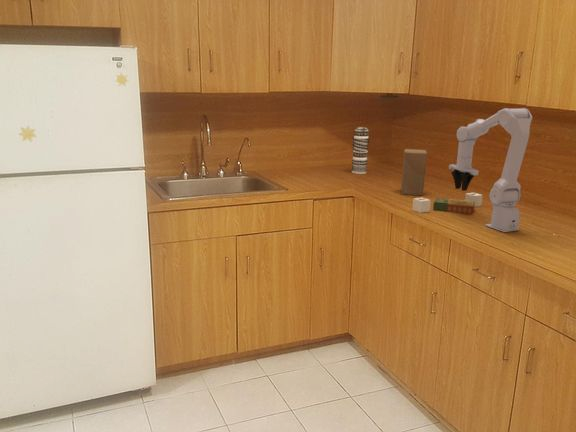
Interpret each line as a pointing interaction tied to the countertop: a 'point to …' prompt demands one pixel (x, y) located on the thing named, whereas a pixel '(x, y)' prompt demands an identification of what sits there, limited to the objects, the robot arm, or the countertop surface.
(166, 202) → the countertop surface
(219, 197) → the countertop surface
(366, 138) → the decorative candle
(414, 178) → the wooden block
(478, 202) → the number block 7
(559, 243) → the countertop surface
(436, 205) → the carton
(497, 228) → the robot arm
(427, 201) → the number block 1
